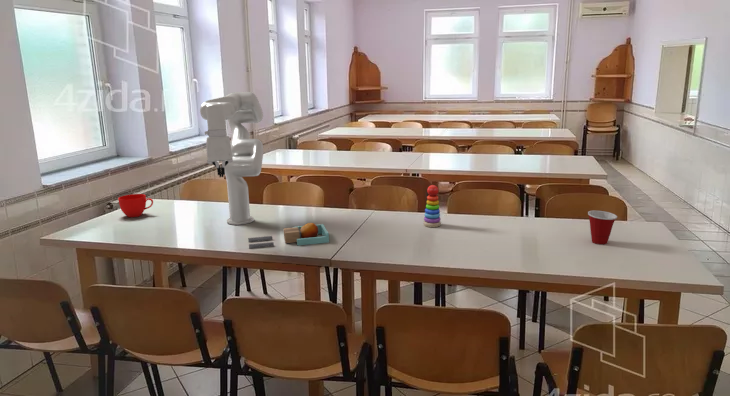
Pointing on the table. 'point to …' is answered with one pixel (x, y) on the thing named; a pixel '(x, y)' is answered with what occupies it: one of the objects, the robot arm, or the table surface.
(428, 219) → the stacking toy
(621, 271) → the table surface
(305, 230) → the fruit
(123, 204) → the ceramic cup
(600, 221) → the plastic cup
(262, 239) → the launcher track
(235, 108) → the robot arm
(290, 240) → the block
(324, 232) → the teal u-shaped frame
